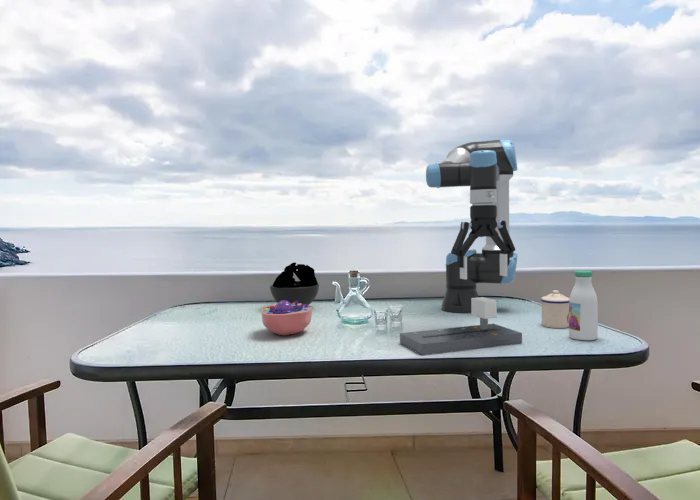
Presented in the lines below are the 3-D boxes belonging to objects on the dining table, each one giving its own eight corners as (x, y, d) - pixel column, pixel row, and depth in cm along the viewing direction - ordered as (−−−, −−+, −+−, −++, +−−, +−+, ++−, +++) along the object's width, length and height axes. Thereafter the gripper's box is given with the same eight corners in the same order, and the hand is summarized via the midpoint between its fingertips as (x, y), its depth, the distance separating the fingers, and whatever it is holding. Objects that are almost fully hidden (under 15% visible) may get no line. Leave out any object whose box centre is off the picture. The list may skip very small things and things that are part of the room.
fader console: (399, 343, 149) (399, 332, 149) (493, 333, 159) (493, 323, 159) (421, 355, 136) (421, 343, 135) (522, 343, 146) (522, 332, 146)
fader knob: (471, 327, 152) (471, 298, 152) (483, 325, 154) (482, 297, 153) (484, 331, 146) (484, 301, 145) (496, 330, 147) (496, 300, 146)
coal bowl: (308, 314, 197) (307, 266, 195) (262, 312, 203) (260, 265, 202) (326, 305, 216) (325, 261, 214) (283, 304, 222) (282, 261, 220)
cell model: (320, 327, 174) (319, 294, 173) (303, 341, 154) (302, 304, 153) (273, 326, 177) (272, 294, 176) (250, 340, 158) (249, 303, 157)
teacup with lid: (574, 328, 162) (574, 292, 162) (545, 328, 163) (545, 292, 163) (563, 321, 174) (563, 287, 174) (535, 321, 175) (535, 287, 175)
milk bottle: (595, 335, 153) (596, 269, 151) (599, 341, 145) (599, 272, 144) (567, 334, 155) (568, 269, 154) (569, 340, 148) (570, 272, 147)
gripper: (451, 205, 140) (452, 281, 141) (527, 203, 148) (527, 275, 149) (438, 205, 147) (439, 278, 149) (511, 204, 155) (511, 273, 156)
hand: (483, 277), depth 149 cm, fingers open, 13 cm apart
